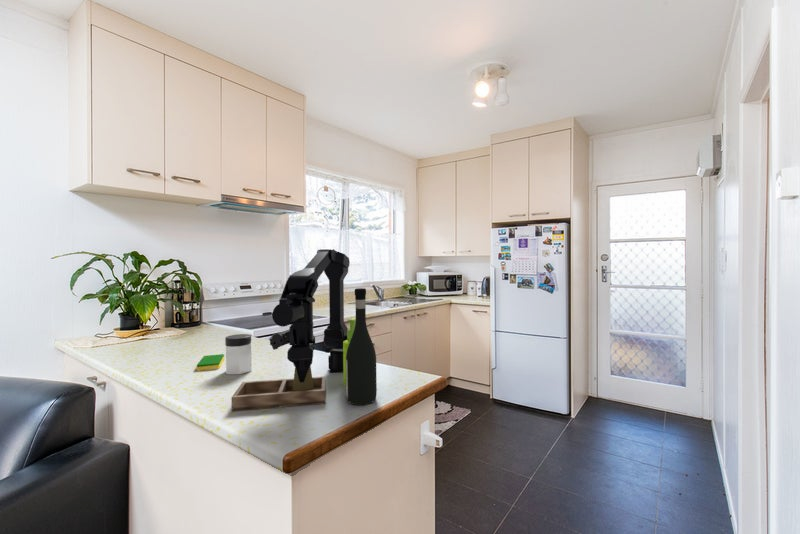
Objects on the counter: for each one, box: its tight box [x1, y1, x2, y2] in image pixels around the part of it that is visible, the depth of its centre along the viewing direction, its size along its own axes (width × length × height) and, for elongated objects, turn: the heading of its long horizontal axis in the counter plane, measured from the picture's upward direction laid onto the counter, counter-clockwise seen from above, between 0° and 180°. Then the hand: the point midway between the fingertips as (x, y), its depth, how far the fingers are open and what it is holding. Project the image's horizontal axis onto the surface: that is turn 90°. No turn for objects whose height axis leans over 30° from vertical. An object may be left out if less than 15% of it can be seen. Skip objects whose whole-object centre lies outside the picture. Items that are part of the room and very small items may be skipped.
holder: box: [231, 375, 327, 412], centre depth 100 cm, size 23×12×4 cm, turn 101°
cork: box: [292, 358, 314, 391], centre depth 101 cm, size 6×6×11 cm
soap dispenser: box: [342, 317, 356, 387], centre depth 111 cm, size 6×7×20 cm
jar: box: [224, 333, 253, 375], centre depth 126 cm, size 9×8×12 cm
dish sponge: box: [196, 353, 225, 372], centre depth 134 cm, size 7×14×2 cm, turn 19°
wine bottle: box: [345, 287, 378, 406], centre depth 98 cm, size 8×8×30 cm
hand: (303, 376), depth 101 cm, fingers open, 9 cm apart
